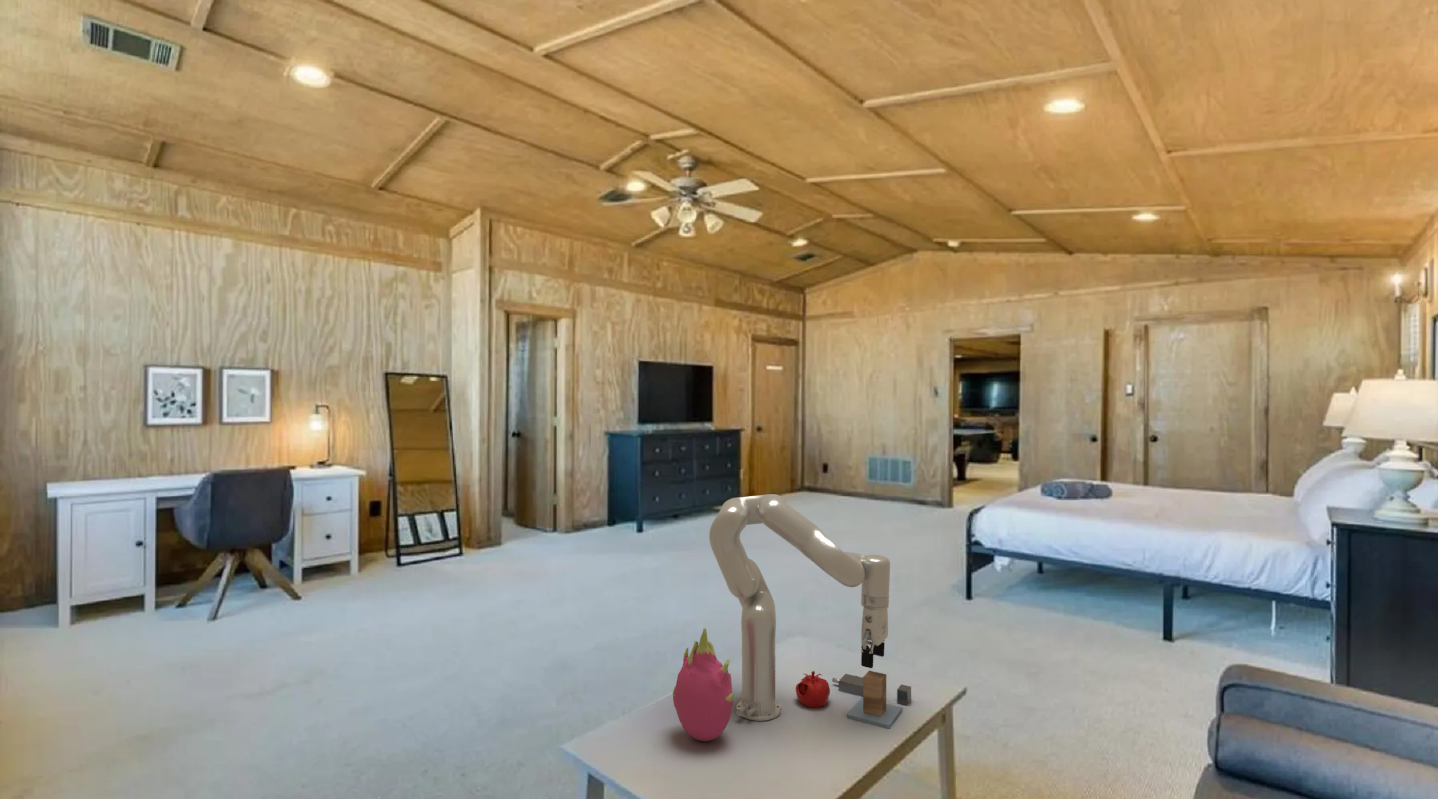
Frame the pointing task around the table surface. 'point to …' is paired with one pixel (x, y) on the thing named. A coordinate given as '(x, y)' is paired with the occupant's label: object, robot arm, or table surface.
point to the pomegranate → (813, 690)
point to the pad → (883, 721)
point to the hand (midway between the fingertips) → (872, 661)
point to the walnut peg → (874, 693)
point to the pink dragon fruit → (703, 692)
